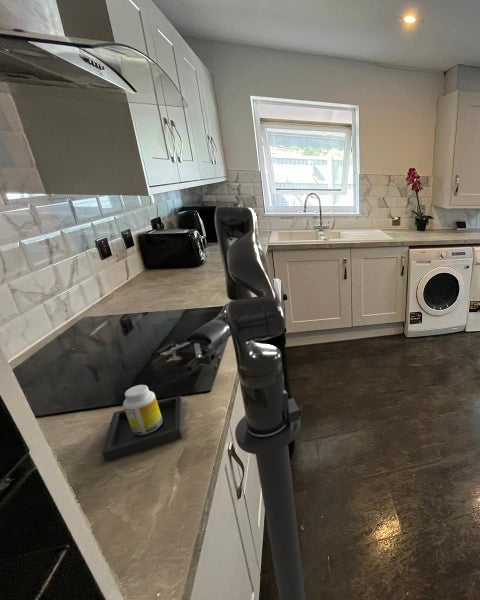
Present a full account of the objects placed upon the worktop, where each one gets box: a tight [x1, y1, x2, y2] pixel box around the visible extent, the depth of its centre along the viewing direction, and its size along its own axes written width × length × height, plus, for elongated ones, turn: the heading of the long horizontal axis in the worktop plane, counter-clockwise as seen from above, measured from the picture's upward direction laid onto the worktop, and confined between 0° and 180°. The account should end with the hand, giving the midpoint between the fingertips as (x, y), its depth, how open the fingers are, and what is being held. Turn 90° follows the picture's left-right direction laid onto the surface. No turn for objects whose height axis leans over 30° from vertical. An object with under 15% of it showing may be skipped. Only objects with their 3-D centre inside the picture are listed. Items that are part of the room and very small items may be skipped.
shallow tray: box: [101, 395, 184, 463], centre depth 73 cm, size 13×13×2 cm
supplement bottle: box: [122, 384, 163, 435], centre depth 71 cm, size 6×6×10 cm
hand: (169, 368), depth 79 cm, fingers open, 8 cm apart
